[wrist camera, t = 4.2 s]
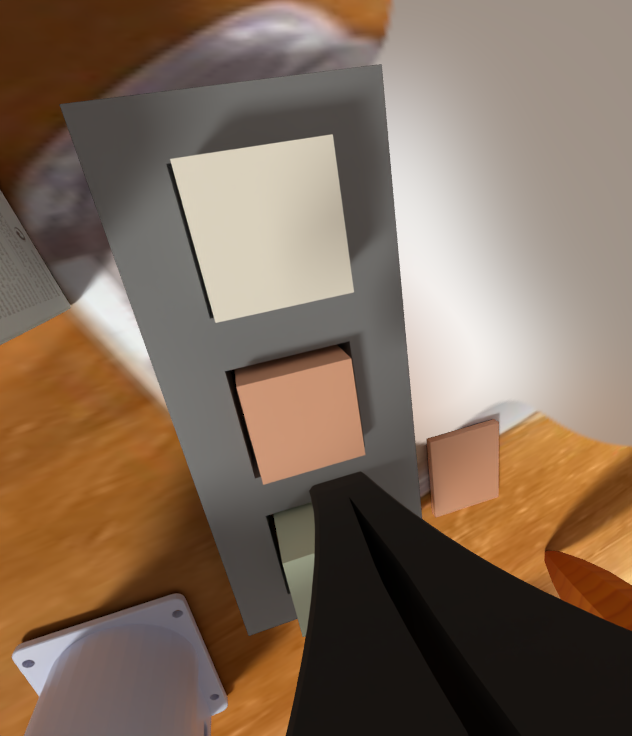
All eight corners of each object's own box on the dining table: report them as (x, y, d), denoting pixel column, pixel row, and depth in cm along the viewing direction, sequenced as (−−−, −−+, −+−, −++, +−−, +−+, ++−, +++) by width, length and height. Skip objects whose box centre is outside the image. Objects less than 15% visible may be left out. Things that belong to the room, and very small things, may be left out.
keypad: (400, 530, 22) (426, 572, 19) (245, 581, 20) (248, 635, 18) (350, 97, 14) (382, 64, 11) (94, 132, 13) (59, 104, 10)
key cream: (324, 279, 14) (354, 292, 11) (216, 301, 14) (215, 322, 10) (304, 159, 13) (332, 134, 9) (183, 179, 12) (169, 159, 9)
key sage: (366, 540, 19) (396, 603, 16) (288, 566, 18) (302, 637, 15) (355, 475, 17) (386, 529, 14) (270, 500, 17) (282, 563, 14)
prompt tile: (494, 492, 22) (498, 496, 22) (432, 512, 22) (435, 517, 21) (493, 419, 21) (498, 422, 20) (426, 438, 20) (430, 442, 20)
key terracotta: (339, 415, 18) (365, 455, 15) (255, 437, 17) (263, 484, 14) (325, 334, 16) (351, 358, 13) (233, 355, 16) (236, 387, 12)
